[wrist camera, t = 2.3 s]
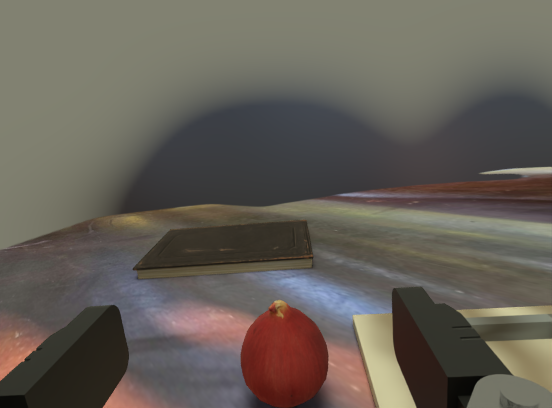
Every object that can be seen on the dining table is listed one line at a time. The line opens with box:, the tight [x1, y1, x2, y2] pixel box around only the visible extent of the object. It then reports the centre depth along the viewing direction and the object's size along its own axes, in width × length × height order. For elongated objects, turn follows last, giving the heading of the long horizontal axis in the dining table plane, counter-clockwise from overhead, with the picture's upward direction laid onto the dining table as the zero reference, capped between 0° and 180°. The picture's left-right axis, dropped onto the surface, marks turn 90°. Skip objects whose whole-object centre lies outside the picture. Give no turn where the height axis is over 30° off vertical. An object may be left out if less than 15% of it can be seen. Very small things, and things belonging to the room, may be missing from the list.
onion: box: [241, 300, 328, 408], centre depth 24 cm, size 6×6×8 cm
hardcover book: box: [133, 220, 313, 279], centre depth 53 cm, size 16×23×2 cm
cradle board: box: [353, 306, 552, 408], centre depth 23 cm, size 20×18×2 cm
